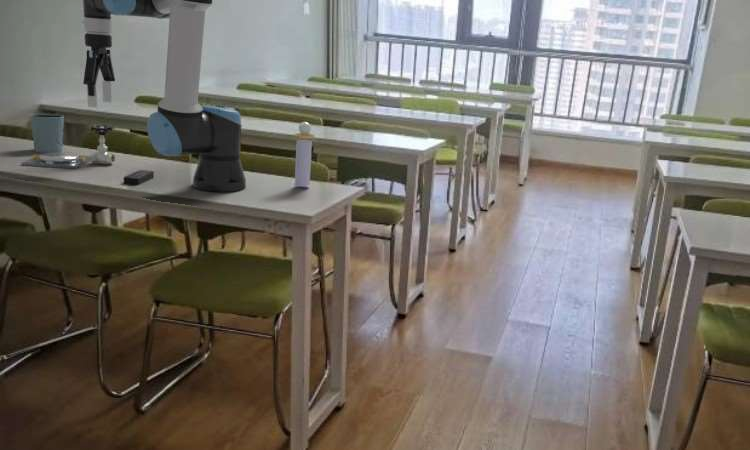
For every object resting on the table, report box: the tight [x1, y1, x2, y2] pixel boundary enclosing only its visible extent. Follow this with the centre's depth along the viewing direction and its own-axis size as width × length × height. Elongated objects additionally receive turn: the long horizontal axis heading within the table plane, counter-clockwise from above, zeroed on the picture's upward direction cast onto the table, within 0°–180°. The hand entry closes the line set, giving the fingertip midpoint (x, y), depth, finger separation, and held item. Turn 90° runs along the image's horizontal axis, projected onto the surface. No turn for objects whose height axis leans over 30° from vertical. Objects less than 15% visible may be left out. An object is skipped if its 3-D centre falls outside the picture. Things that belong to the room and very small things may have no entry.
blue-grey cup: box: [29, 112, 65, 154], centre depth 220 cm, size 10×10×12 cm
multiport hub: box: [123, 169, 155, 186], centre depth 191 cm, size 4×11×2 cm, turn 174°
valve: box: [89, 124, 116, 165], centre depth 206 cm, size 7×7×12 cm
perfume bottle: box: [294, 121, 315, 188], centre depth 196 cm, size 6×6×20 cm
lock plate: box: [21, 151, 91, 170], centre depth 206 cm, size 16×16×2 cm
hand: (100, 104), depth 203 cm, fingers open, 13 cm apart
